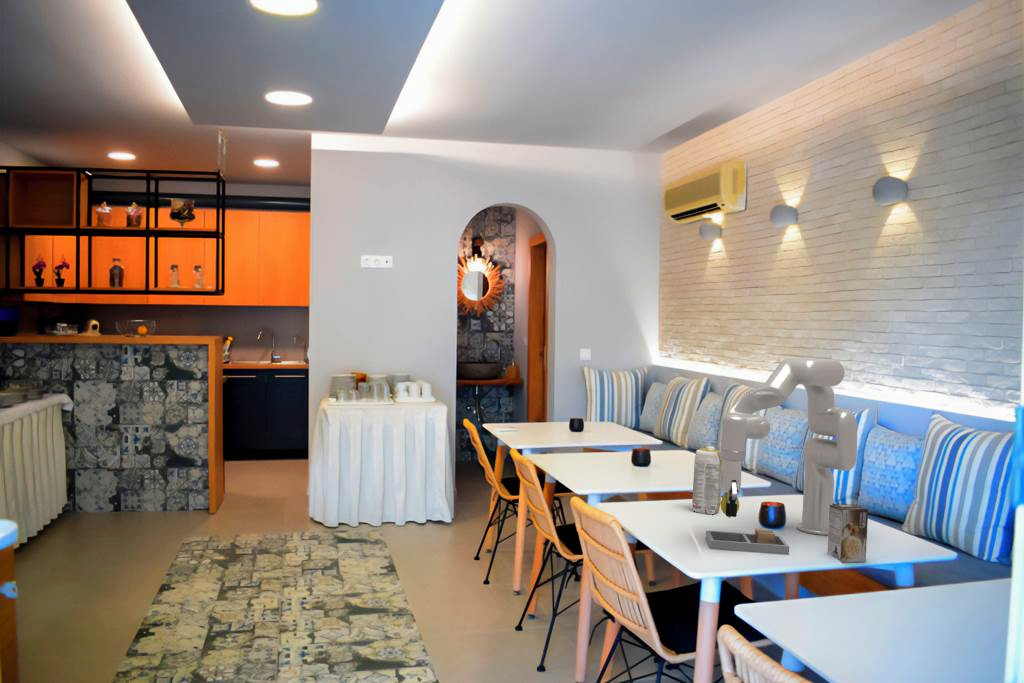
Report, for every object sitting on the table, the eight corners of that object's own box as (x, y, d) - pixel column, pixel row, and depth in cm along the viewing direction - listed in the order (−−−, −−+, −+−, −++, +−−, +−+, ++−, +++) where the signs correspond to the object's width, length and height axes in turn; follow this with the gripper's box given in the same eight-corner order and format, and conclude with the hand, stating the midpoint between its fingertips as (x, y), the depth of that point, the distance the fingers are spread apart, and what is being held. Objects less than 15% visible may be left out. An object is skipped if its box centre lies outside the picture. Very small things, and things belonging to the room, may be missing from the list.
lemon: (735, 515, 254) (736, 490, 254) (740, 520, 248) (742, 494, 248) (717, 514, 254) (719, 489, 253) (722, 519, 248) (724, 493, 248)
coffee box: (851, 555, 249) (855, 503, 249) (866, 562, 243) (869, 508, 243) (826, 556, 247) (829, 504, 246) (839, 563, 241) (843, 509, 240)
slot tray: (705, 541, 258) (705, 530, 258) (779, 546, 256) (780, 535, 255) (710, 552, 246) (711, 540, 246) (788, 558, 244) (789, 546, 243)
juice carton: (721, 512, 299) (725, 447, 298) (714, 516, 292) (718, 449, 291) (697, 508, 304) (700, 444, 303) (689, 511, 297) (693, 446, 296)
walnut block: (754, 544, 253) (755, 528, 253) (770, 545, 252) (771, 530, 252) (757, 549, 248) (758, 533, 248) (774, 550, 247) (775, 534, 247)
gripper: (716, 450, 259) (712, 506, 260) (724, 459, 242) (721, 519, 243) (740, 451, 259) (737, 508, 259) (750, 461, 241) (746, 521, 242)
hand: (729, 513), depth 251 cm, fingers closed on lemon, 5 cm apart
